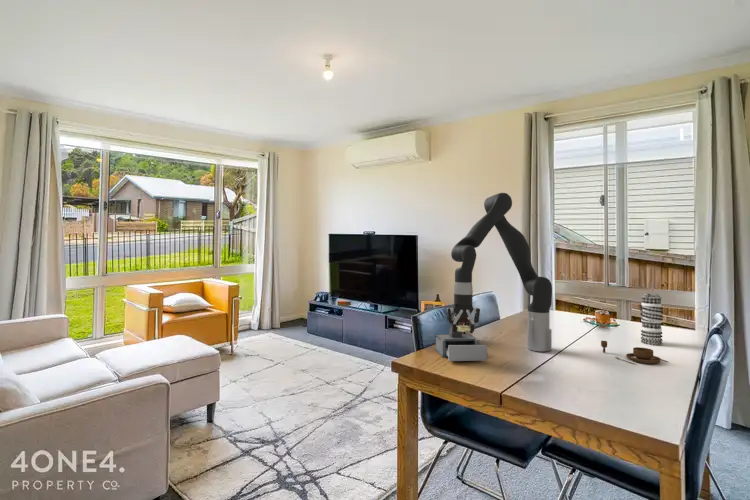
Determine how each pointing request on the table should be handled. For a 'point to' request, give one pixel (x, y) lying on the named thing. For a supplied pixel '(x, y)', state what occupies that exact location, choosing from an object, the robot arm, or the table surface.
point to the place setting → (638, 355)
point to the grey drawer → (466, 352)
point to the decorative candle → (651, 319)
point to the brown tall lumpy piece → (461, 321)
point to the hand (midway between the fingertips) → (462, 332)
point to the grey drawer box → (453, 341)
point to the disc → (463, 328)
